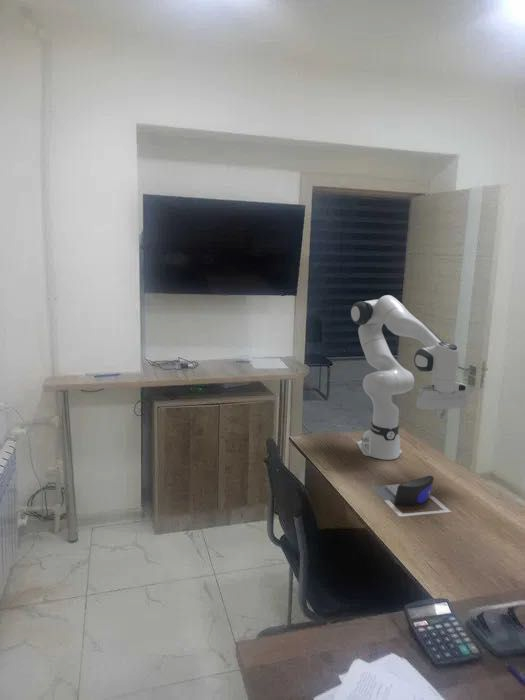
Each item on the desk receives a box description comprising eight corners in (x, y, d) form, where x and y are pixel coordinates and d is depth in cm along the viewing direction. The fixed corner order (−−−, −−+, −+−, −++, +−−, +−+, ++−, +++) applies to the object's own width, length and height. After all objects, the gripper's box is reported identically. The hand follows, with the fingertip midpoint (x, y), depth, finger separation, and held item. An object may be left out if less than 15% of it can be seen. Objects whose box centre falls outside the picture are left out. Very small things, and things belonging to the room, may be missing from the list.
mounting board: (370, 489, 194) (371, 486, 194) (417, 486, 199) (418, 483, 199) (399, 519, 173) (399, 516, 173) (451, 514, 177) (451, 511, 177)
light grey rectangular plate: (384, 487, 194) (385, 485, 194) (408, 485, 196) (408, 483, 196) (395, 498, 186) (395, 495, 185) (419, 496, 188) (420, 493, 188)
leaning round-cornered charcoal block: (400, 512, 178) (406, 491, 174) (392, 504, 182) (397, 483, 178) (434, 501, 185) (440, 481, 182) (426, 493, 189) (431, 473, 185)
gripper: (423, 387, 188) (420, 423, 190) (471, 386, 192) (467, 420, 195) (414, 383, 194) (411, 417, 196) (461, 382, 198) (457, 415, 201)
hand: (439, 419), depth 196 cm, fingers closed
